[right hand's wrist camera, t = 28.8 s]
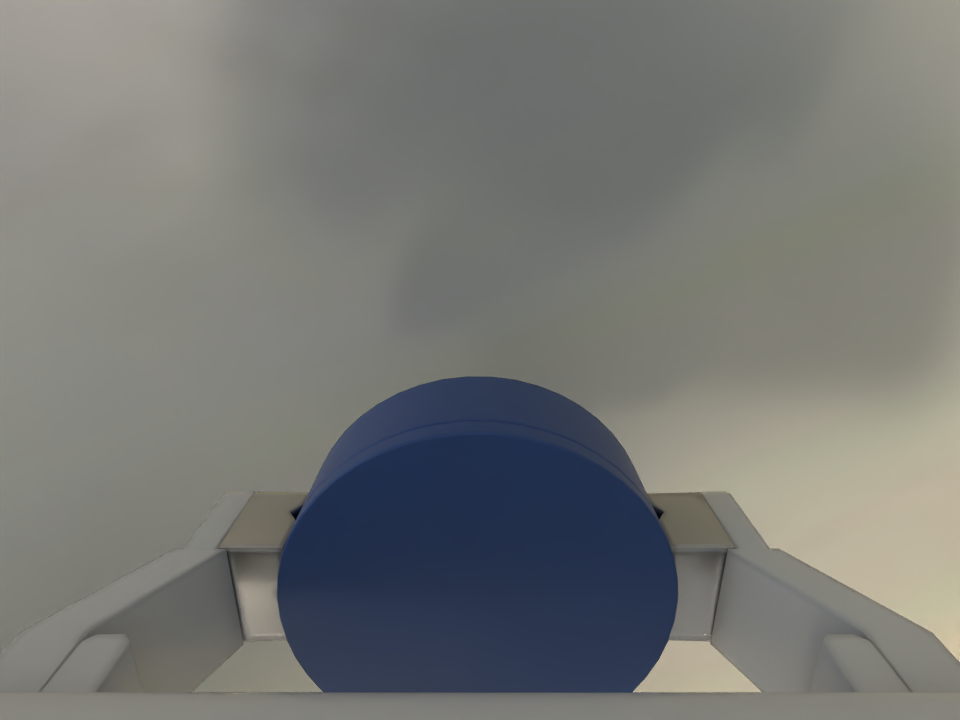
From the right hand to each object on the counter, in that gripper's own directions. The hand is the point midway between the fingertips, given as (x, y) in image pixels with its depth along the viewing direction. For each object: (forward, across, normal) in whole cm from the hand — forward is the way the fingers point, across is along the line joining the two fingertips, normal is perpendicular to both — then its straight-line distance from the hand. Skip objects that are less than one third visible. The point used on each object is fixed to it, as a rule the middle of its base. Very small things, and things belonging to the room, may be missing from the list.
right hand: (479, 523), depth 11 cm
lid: (-2, 0, 0) cm, 2 cm away
